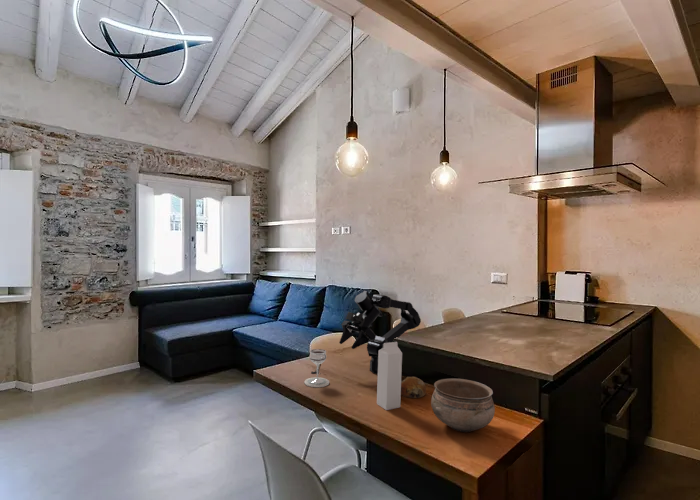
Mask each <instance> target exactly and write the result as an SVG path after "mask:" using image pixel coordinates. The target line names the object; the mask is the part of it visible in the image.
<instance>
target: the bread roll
mask: <svg viewBox="0 0 700 500" xmlns="http://www.w3.org/2000/svg"><path fill="white" fill-rule="evenodd" d="M426 394H427V387H426V384H425V382H424V381H423V380H422V379H420V378H418V377H417V376H407V377H405V378H404V379H403V380H401V396H403V397H405V398H410V399H419V398H422V397H425V395H426Z"/></svg>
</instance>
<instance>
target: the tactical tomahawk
mask: <svg viewBox="0 0 700 500" xmlns="http://www.w3.org/2000/svg"><path fill="white" fill-rule="evenodd" d="M319 367H321V365H319ZM319 367H318V375H320V374H319V371H320V368H319ZM310 374H314V375H315V374H316V375H317V366H316V368H315V371H311V373H310Z"/></svg>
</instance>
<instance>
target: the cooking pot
mask: <svg viewBox="0 0 700 500" xmlns="http://www.w3.org/2000/svg"><path fill="white" fill-rule="evenodd" d="M433 387H434V390H433V393H432V396H431V400H430V406H431V408H432V411H433V414H434V415H435V416H436V418H437V419H438V420H439V421H440V422H442V423H443V424H445V425H446V426H448V427H449V428H451V430H454V431H456V432H459V431H460V433H471V432H472V431H476V430H477V431H478V430H480V429H482V428H485V427H486V426H488V425H489V424H490V423H491V422H492V420H493V419H494V416H495V412H496V411H495V410H496V409H495V403H494V400H493V396H492V395H493V394H494V392H493V389H492V388H490V386H487V385H486V384H483V383H481V382H478V381H475V380H470V379H466V378H465V379H464V378H441V379H438V380H437V381H435V382H434V383H433Z"/></svg>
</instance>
